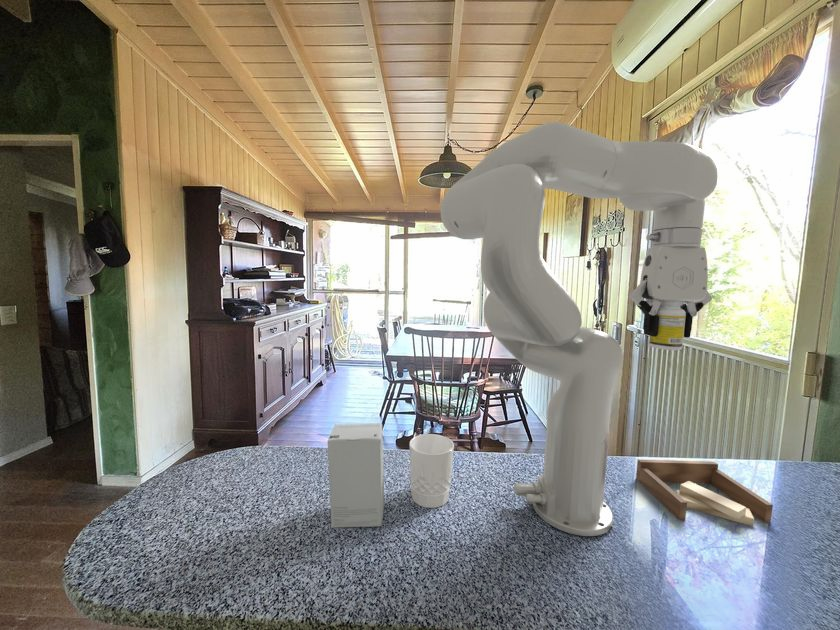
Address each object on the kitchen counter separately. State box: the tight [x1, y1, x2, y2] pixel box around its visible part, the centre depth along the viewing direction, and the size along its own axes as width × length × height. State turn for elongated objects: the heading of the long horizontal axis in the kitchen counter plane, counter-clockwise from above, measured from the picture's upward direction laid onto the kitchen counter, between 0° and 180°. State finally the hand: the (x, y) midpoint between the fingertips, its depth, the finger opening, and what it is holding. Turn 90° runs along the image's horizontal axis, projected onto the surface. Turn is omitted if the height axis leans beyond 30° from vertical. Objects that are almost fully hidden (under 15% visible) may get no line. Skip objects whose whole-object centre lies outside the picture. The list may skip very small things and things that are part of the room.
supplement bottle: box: [648, 300, 686, 351], centre depth 68 cm, size 5×5×10 cm
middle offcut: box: [675, 489, 755, 527], centre depth 61 cm, size 10×3×1 cm, turn 59°
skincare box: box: [327, 422, 385, 529], centre depth 57 cm, size 8×6×15 cm
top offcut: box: [679, 481, 746, 519], centre depth 61 cm, size 8×3×1 cm, turn 27°
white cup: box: [408, 433, 455, 509], centre depth 64 cm, size 8×8×10 cm
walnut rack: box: [635, 459, 774, 524], centre depth 64 cm, size 15×12×4 cm
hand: (666, 334), depth 69 cm, fingers closed on supplement bottle, 5 cm apart
